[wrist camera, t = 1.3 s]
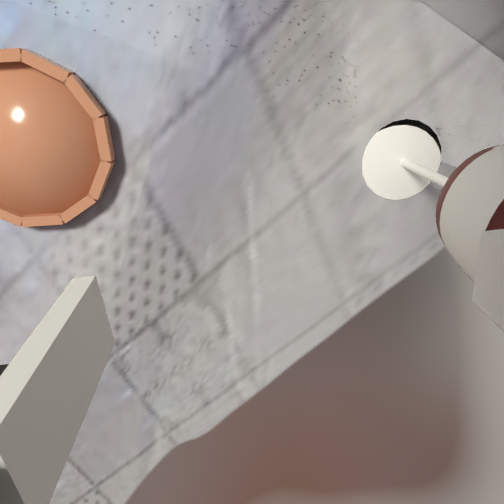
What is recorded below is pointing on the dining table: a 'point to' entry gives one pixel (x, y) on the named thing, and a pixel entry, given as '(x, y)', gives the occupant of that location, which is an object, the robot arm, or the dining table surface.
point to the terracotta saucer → (49, 142)
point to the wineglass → (454, 188)
